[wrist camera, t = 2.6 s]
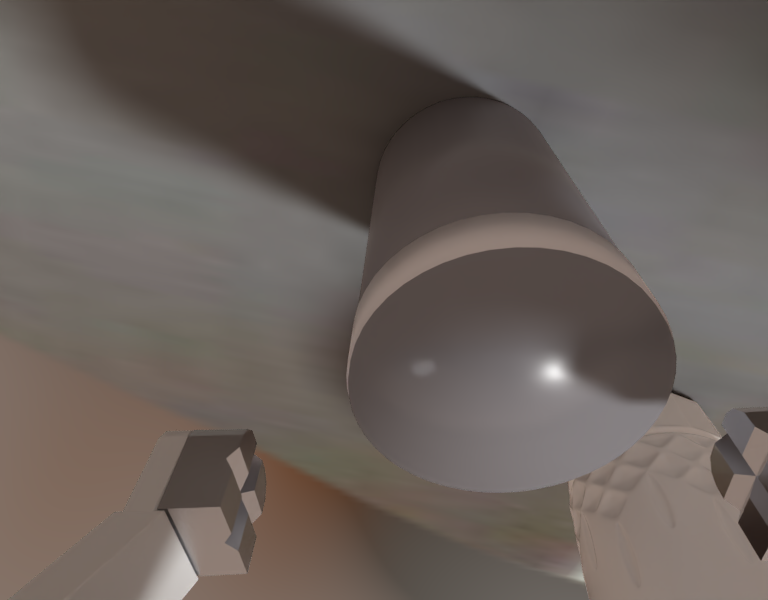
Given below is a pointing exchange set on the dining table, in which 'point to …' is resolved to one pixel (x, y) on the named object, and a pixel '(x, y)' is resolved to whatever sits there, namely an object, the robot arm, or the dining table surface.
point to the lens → (498, 312)
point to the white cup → (664, 520)
